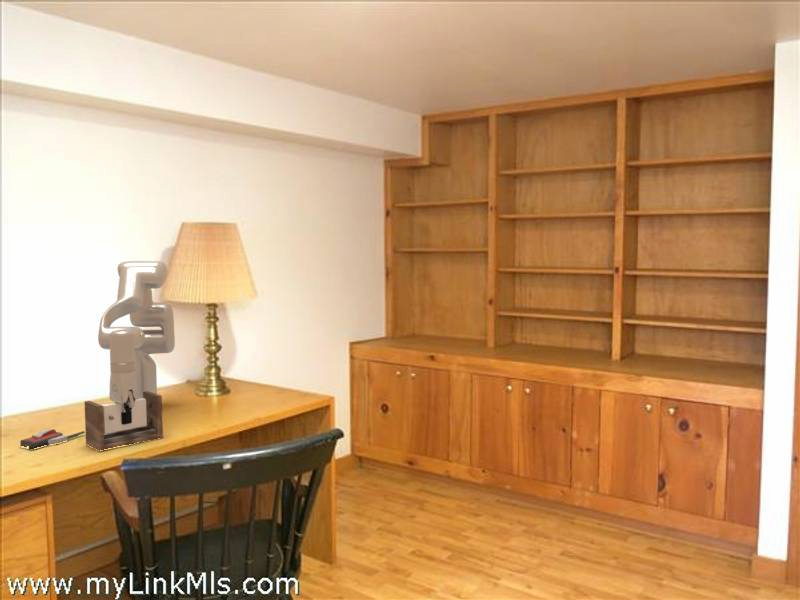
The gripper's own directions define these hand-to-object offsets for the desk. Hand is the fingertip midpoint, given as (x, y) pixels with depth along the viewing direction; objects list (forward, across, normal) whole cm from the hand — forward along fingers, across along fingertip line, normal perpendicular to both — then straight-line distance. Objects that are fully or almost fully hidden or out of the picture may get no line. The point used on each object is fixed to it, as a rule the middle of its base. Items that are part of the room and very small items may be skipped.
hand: (124, 422), depth 219 cm
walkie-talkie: (+7, -18, -16) cm, 25 cm away
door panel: (+2, 0, 0) cm, 2 cm away
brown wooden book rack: (+7, 0, 0) cm, 7 cm away
